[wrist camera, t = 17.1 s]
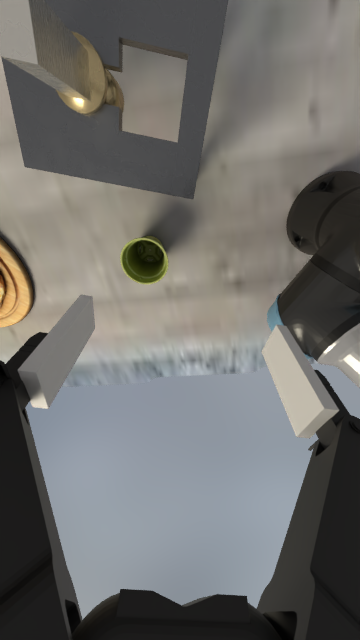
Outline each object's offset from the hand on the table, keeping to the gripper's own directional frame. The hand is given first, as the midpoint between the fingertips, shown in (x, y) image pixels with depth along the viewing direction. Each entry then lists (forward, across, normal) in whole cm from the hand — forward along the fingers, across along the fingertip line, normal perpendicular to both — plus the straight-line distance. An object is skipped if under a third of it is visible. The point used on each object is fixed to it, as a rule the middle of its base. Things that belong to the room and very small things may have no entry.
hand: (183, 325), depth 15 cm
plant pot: (+37, +7, +7) cm, 38 cm away
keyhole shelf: (+37, +11, -15) cm, 41 cm away
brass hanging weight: (+29, +14, -15) cm, 36 cm away
